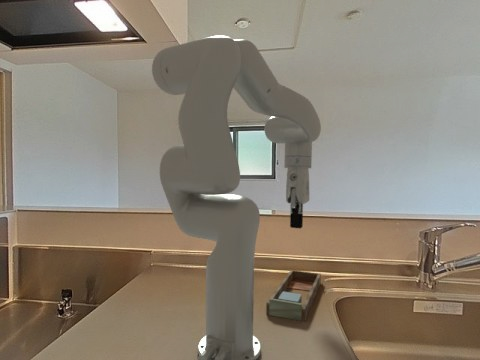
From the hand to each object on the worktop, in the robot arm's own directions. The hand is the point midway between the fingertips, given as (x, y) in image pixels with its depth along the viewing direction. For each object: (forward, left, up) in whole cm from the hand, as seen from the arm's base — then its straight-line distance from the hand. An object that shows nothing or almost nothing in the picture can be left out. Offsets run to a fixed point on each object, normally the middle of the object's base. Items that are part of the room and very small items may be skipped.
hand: (296, 227), depth 94 cm
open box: (-1, -1, -20) cm, 20 cm away
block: (-10, -1, -20) cm, 23 cm away
